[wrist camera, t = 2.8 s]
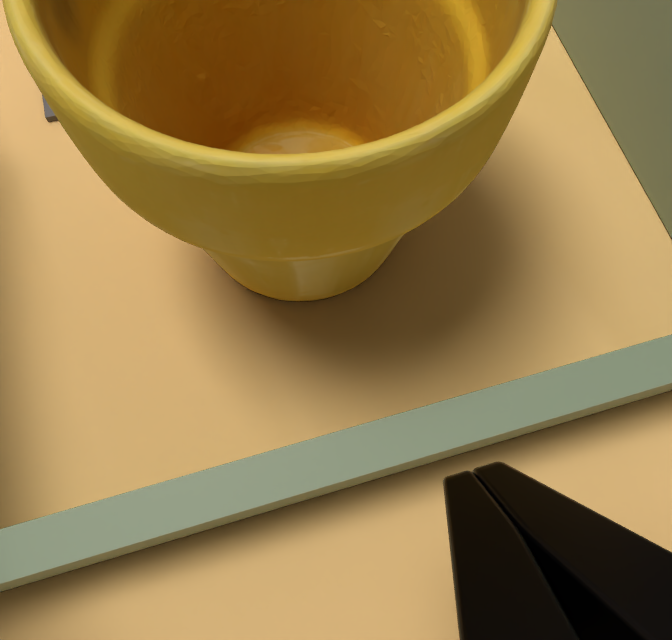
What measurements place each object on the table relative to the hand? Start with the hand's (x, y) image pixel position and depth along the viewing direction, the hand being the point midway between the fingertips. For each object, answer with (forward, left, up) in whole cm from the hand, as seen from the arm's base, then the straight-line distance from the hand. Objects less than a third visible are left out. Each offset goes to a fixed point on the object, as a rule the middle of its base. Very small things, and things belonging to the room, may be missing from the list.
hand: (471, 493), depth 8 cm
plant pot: (+2, +10, -9) cm, 14 cm away
